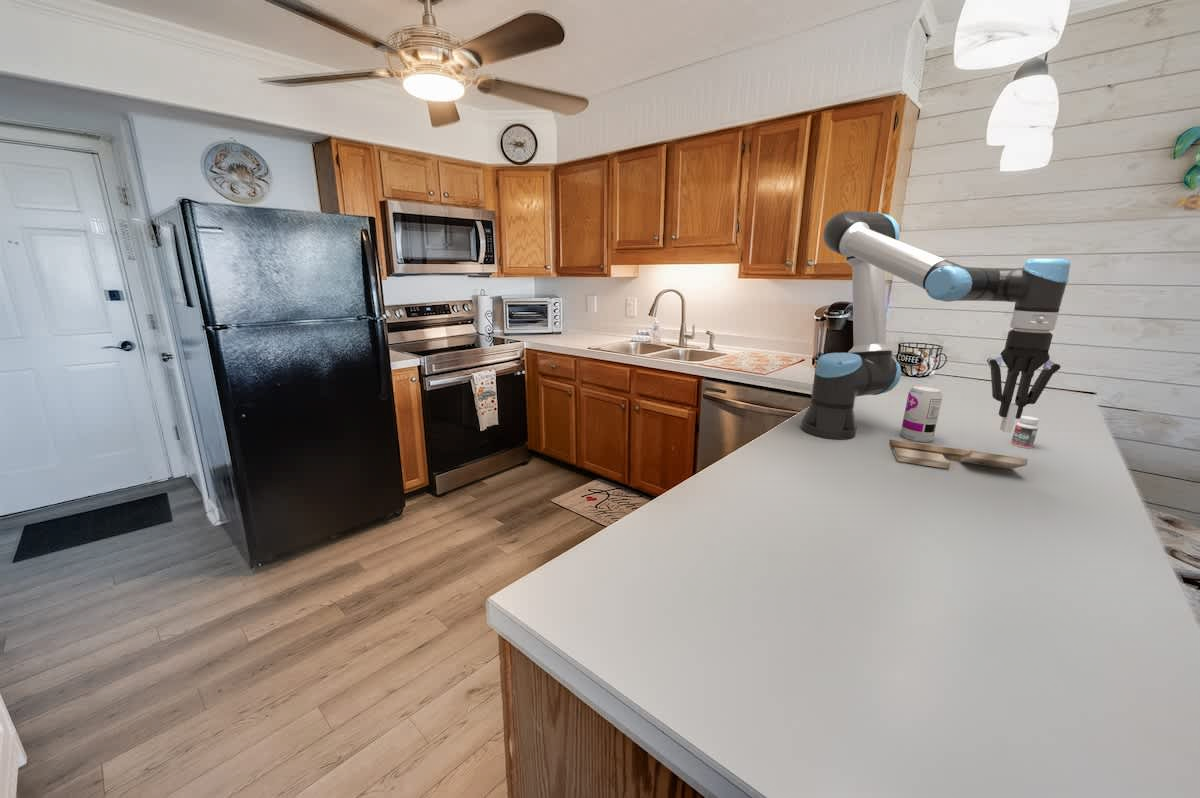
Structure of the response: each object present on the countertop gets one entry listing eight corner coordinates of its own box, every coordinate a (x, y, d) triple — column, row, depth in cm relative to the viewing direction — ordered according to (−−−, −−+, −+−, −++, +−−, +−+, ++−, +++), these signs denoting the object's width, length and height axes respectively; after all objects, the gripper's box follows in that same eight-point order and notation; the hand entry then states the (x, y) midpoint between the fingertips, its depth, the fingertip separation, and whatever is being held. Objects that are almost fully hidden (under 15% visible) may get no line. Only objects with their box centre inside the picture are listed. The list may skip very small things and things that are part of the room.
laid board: (892, 450, 130) (893, 445, 130) (889, 443, 136) (890, 438, 135) (1011, 468, 121) (1012, 462, 120) (1002, 460, 126) (1004, 454, 125)
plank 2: (970, 456, 117) (971, 450, 117) (959, 461, 124) (960, 455, 124) (1027, 465, 112) (1027, 458, 113) (1012, 468, 120) (1012, 463, 120)
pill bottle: (1007, 443, 138) (1014, 416, 136) (1016, 441, 140) (1023, 414, 138) (1026, 449, 134) (1034, 421, 132) (1035, 447, 136) (1043, 419, 134)
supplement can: (904, 440, 139) (915, 390, 135) (896, 431, 146) (906, 384, 142) (937, 444, 136) (948, 393, 132) (927, 435, 144) (937, 386, 140)
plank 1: (897, 460, 122) (898, 455, 122) (893, 451, 130) (894, 446, 129) (948, 468, 118) (950, 463, 118) (941, 458, 125) (942, 453, 125)
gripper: (1000, 330, 106) (976, 431, 112) (1076, 334, 101) (1047, 439, 107) (989, 327, 113) (967, 422, 119) (1061, 330, 108) (1034, 430, 114)
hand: (1005, 430), depth 113 cm, fingers closed
